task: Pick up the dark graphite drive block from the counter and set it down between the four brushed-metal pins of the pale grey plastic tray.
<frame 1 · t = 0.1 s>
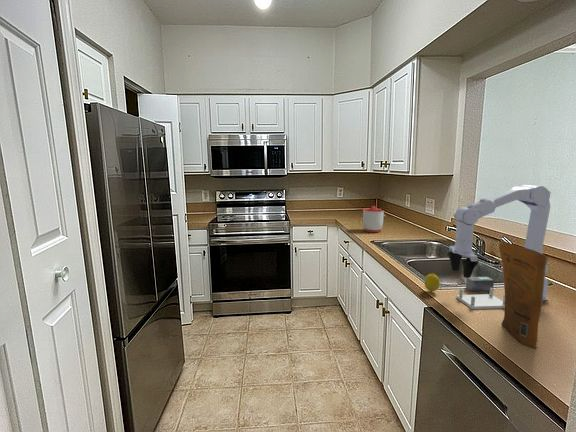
hand: (460, 273, 123), 10 cm above the table, fingers open, 7 cm apart
lemon: (431, 292, 131), on the table
tray: (481, 302, 121), on the table
drive: (479, 290, 133), on the table
pancake mix bag: (515, 334, 99), on the table
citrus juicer: (373, 231, 245), on the table
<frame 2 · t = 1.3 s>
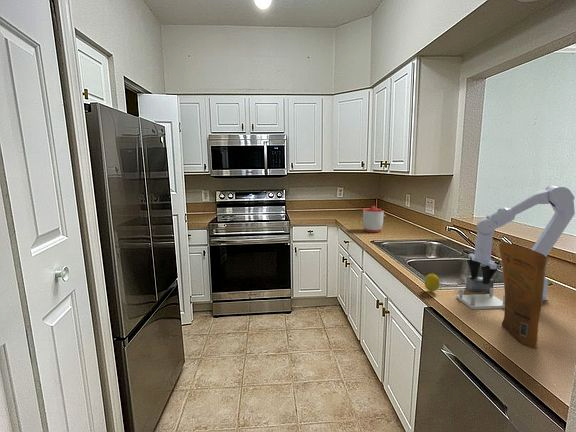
hand: (479, 280, 132), 4 cm above the table, fingers open, 7 cm apart
nothing on the table moved.
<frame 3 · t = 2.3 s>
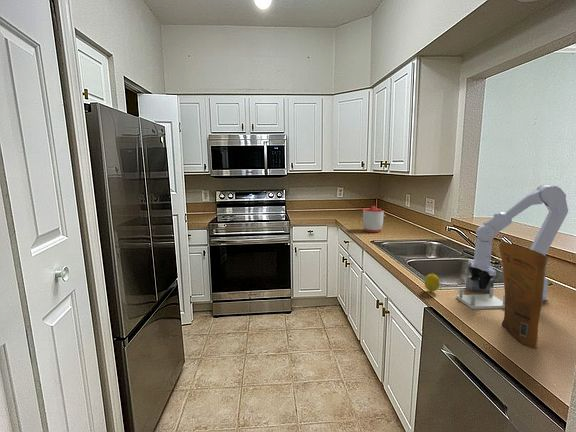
hand: (479, 286, 133), 1 cm above the table, fingers closed on drive, 4 cm apart
drive: (478, 290, 133), on the table, touching gripper
everything else where it was.
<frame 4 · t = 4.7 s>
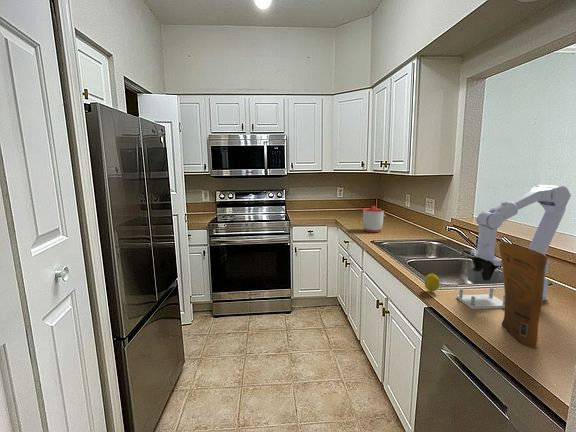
hand: (482, 277, 123), 8 cm above the table, fingers closed on drive, 4 cm apart
drive: (481, 281, 123), point 7 cm above the table, touching gripper
everything else where it was.
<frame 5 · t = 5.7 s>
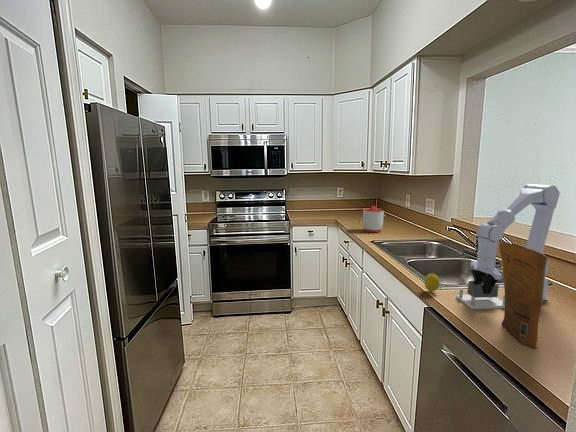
hand: (483, 291, 120), 5 cm above the table, fingers closed on drive, 4 cm apart
drive: (482, 295, 120), point 3 cm above the table, touching gripper
everything else where it was.
when the fingers open (4 cm above the table, at t = 6.6 s): drive drops 1 cm, resting on tray.
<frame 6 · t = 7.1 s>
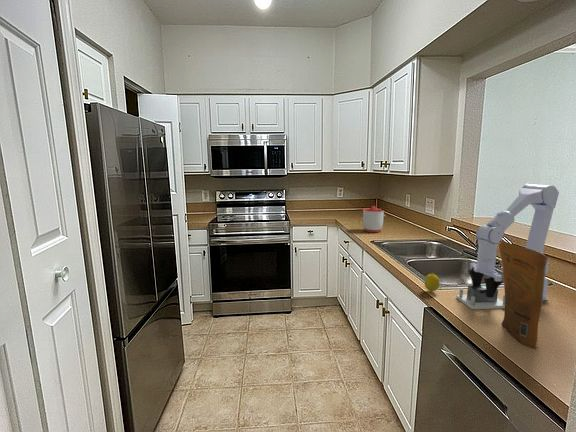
hand: (482, 292, 120), 4 cm above the table, fingers open, 7 cm apart
drive: (481, 300, 120), point 1 cm above the table, touching tray
everything else where it was.
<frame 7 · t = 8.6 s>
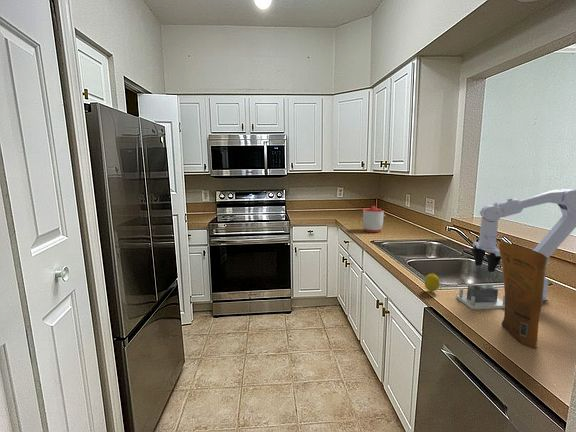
hand: (484, 268, 129), 10 cm above the table, fingers open, 7 cm apart
nothing on the table moved.
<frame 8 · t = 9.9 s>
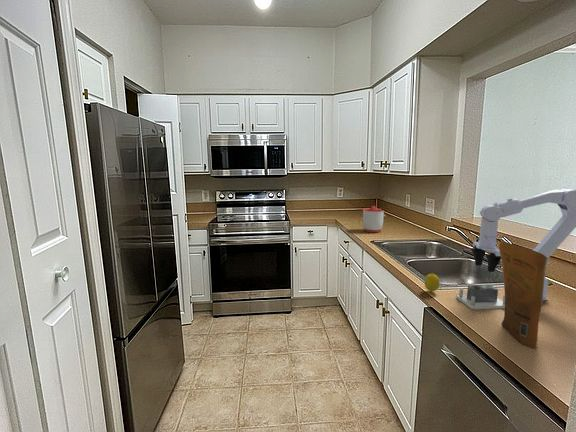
hand: (484, 268, 129), 10 cm above the table, fingers open, 7 cm apart
nothing on the table moved.
at the end: drive 0.2 cm off-centre on the tray, point 1.0 cm above the tray's base; drive tilted 0°; the gripper is holding nothing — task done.
